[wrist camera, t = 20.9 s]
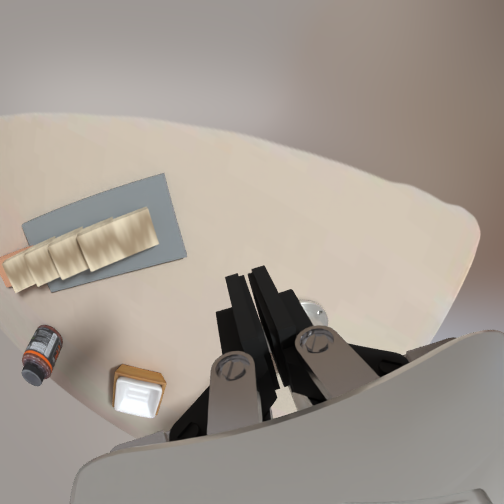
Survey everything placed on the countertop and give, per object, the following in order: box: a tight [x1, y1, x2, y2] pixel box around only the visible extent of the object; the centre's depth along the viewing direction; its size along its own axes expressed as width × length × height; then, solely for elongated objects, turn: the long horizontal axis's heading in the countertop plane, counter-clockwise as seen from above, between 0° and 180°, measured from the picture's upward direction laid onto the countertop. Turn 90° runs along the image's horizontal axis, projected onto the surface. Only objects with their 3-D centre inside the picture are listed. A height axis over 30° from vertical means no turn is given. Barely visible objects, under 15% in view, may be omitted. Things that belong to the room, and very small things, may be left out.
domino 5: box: [77, 207, 159, 272], centre depth 34 cm, size 5×2×10 cm
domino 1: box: [0, 245, 33, 287], centre depth 33 cm, size 5×2×10 cm
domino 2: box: [2, 236, 56, 293], centre depth 32 cm, size 5×2×10 cm
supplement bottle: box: [22, 325, 63, 386], centre depth 36 cm, size 6×6×11 cm
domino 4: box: [48, 217, 113, 280], centre depth 33 cm, size 5×2×10 cm
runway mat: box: [22, 173, 187, 292], centre depth 36 cm, size 12×24×1 cm, turn 100°
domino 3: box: [23, 226, 83, 287], centre depth 33 cm, size 5×2×10 cm
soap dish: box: [112, 364, 166, 418], centre depth 47 cm, size 12×10×5 cm
